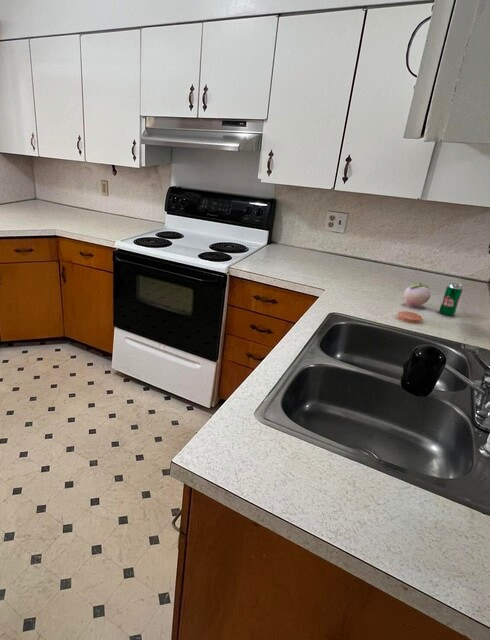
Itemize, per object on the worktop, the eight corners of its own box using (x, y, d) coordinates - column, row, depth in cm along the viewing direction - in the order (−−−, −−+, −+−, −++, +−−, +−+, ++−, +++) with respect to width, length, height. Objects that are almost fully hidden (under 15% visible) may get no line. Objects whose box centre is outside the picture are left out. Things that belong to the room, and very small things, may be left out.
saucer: (422, 318, 158) (423, 315, 158) (419, 325, 152) (420, 321, 152) (398, 312, 163) (399, 309, 162) (395, 319, 157) (396, 315, 156)
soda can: (435, 312, 165) (445, 283, 160) (443, 310, 167) (453, 281, 163) (448, 317, 161) (458, 287, 156) (456, 315, 163) (466, 286, 158)
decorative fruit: (416, 311, 164) (423, 287, 161) (397, 304, 171) (404, 280, 167) (431, 308, 168) (439, 285, 164) (412, 301, 175) (419, 278, 171)
